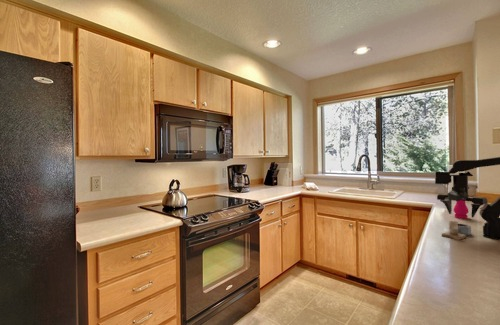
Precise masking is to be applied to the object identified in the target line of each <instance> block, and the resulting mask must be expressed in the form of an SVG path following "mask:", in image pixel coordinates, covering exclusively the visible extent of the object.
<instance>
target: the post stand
mask: <svg viewBox="0 0 500 325" xmlns="http://www.w3.org/2000/svg"><path fill="white" fill-rule="evenodd" d="M448 225H449V228H448V230H449V231H445V232H443V233H441V237H445V238H449V239H454V240H457V241H460V240H463V239H465V238H467V235H464V234H459V233H458V221H455V220H454V221H453V220H449V224H448Z"/></svg>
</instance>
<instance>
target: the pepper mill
mask: <svg viewBox="0 0 500 325" xmlns="http://www.w3.org/2000/svg"><path fill="white" fill-rule="evenodd" d="M455 202H456V203H455V205H454V207H453V212H454V218H456V219H463V220H464V219H468V218H469V216H468V214H469V208H468V206H467V204H466V201H461V200H460V201H455Z"/></svg>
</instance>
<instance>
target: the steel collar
mask: <svg viewBox="0 0 500 325" xmlns="http://www.w3.org/2000/svg"><path fill="white" fill-rule="evenodd" d="M458 233H459V234H464V235H466V236H471V234H472V226H471V225H468V224H464V223H460V222H459V223H458Z"/></svg>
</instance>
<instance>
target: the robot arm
mask: <svg viewBox="0 0 500 325" xmlns="http://www.w3.org/2000/svg"><path fill="white" fill-rule="evenodd" d="M492 166H493V167H494V166H500V156H498V157H489V158H482V159H476V160H475V159H461V160H460V159H458V160H455V161H454V162H453V164H452V167H451V168H450V169H449V170H448V171H439V170H438V171H435V178H434V182H435V185H446V186H447V185H449V184H451V183H452V186H451V190H450V191H449V192H448V193H439V194H437V195H436V199H437V200H438V201H440V202H442V203H443V204H444V206H445V208H446V209H447V212H448V214H449V215H452V211H453V210H452V209H453V208H452V201H454V202H457V201H460V200H461V201H465V202H471V204H470V205H471V213H470V214H471V215H470V216H471V218H475V215H476V214H477V211H479V216H480V217H481V218H482V220H484V221H485V223H484V225H482V234H483V235H482V236H483V237H485V238H490V239H495V240H499V241H500V196H498V197H497V198H496V199H495V200H493V202H491V203H489V202H488V198H487V197H485V196H483V197H481V196H473V197H470V194H469V189H470V186H469V177H473V176H474V175H473V173H471V172H470V170H471V171H472V170H474V169H478V168H483V167H484V168H485V167H492ZM457 173H458V174H457ZM481 206H482V207H481ZM479 209H480V210H479Z"/></svg>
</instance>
